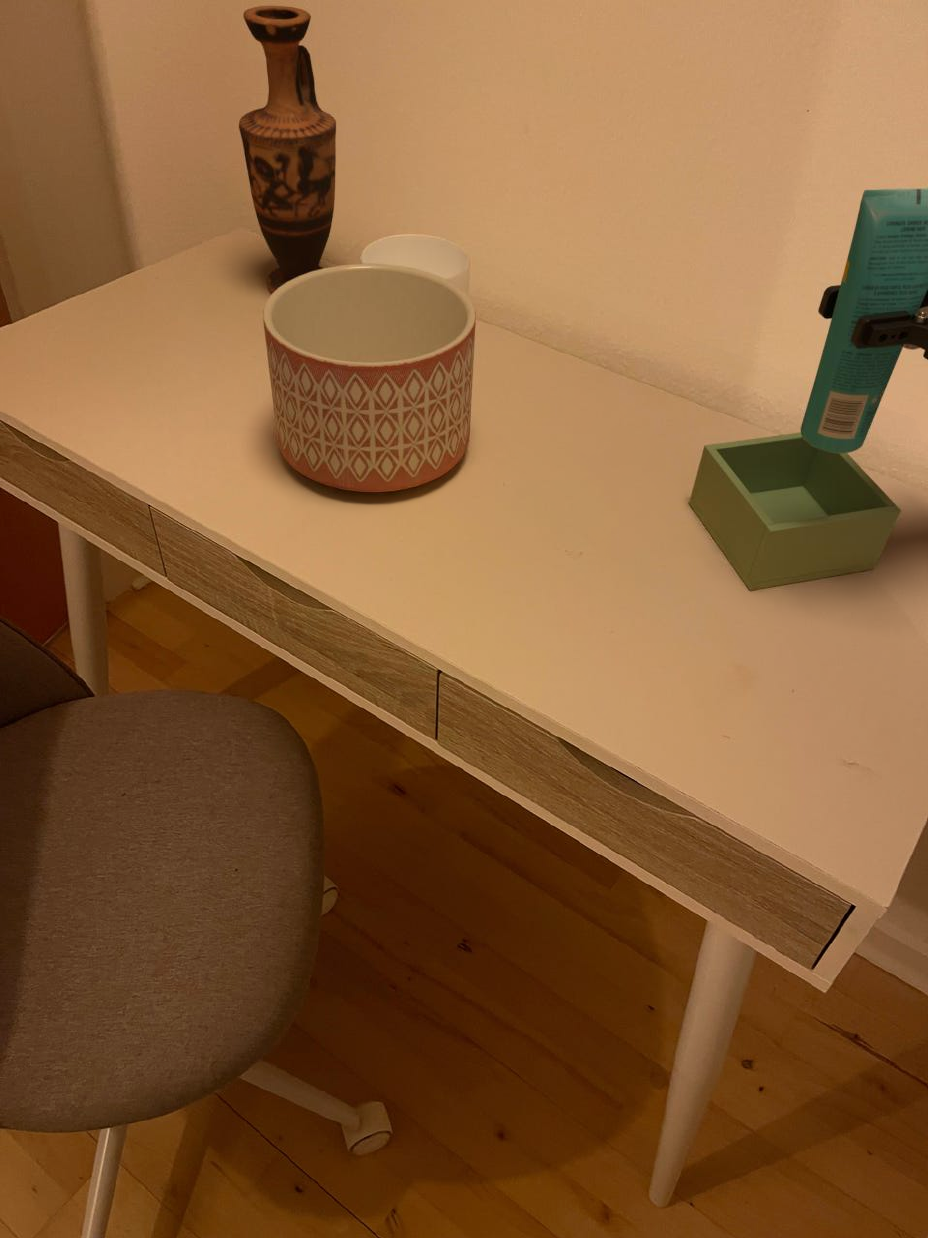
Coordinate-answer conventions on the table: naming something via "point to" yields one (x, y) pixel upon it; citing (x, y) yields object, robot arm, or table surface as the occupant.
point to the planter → (371, 375)
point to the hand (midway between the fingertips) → (841, 317)
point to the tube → (872, 283)
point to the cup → (422, 256)
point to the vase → (289, 148)
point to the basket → (790, 510)
